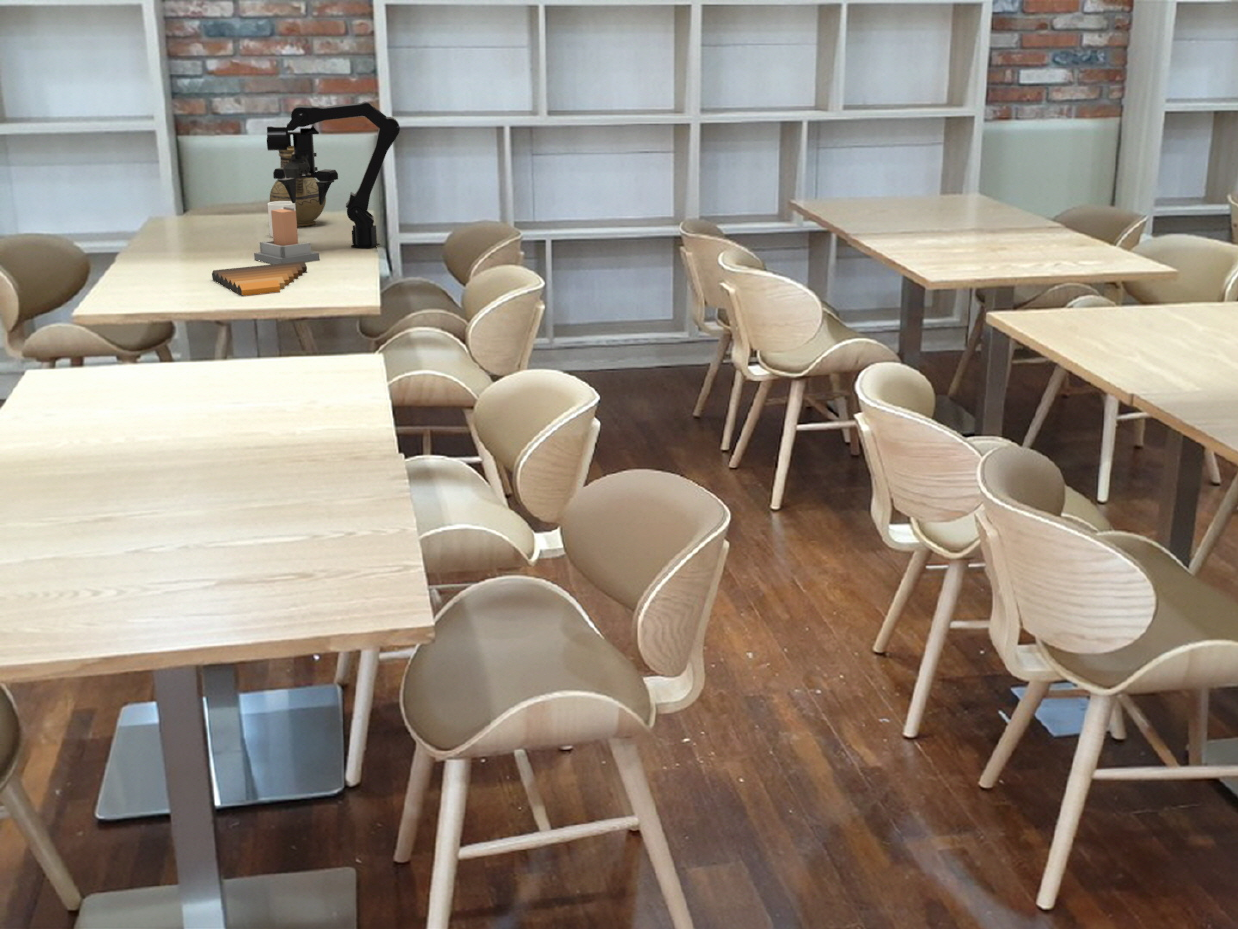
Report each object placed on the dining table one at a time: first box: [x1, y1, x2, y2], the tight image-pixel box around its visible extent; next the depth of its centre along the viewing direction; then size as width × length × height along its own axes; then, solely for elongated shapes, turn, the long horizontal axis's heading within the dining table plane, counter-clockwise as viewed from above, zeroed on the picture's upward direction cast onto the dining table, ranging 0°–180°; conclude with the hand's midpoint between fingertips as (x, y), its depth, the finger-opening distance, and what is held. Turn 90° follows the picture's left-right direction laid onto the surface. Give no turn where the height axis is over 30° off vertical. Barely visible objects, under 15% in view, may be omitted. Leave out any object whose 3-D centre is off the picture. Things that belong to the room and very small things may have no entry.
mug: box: [267, 201, 296, 238], centre depth 439 cm, size 12×8×10 cm
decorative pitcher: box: [269, 145, 327, 227], centre depth 459 cm, size 22×18×25 cm
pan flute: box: [211, 261, 308, 296], centre depth 373 cm, size 25×3×25 cm
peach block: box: [271, 207, 299, 246], centre depth 401 cm, size 4×6×13 cm
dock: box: [253, 240, 320, 265], centre depth 403 cm, size 13×13×5 cm
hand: (307, 203), depth 418 cm, fingers open, 9 cm apart
